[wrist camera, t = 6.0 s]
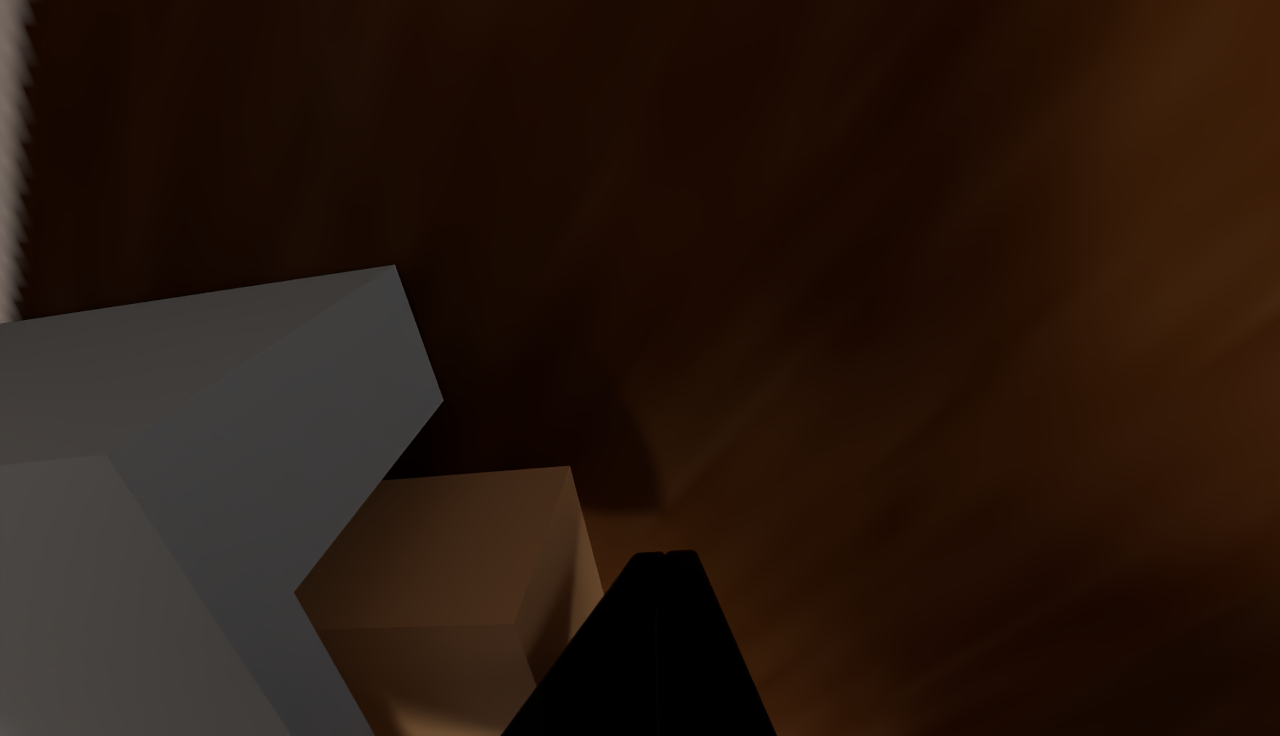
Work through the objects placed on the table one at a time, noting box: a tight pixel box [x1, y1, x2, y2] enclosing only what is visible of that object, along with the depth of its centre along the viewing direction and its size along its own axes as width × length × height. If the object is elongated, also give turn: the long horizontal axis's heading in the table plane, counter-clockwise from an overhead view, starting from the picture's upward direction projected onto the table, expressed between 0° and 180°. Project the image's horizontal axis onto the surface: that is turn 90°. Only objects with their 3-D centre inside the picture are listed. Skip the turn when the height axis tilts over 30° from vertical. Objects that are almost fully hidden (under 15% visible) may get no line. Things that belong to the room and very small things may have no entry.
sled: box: [0, 265, 444, 736], centre depth 9 cm, size 9×7×4 cm
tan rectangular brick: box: [294, 466, 604, 736], centre depth 9 cm, size 3×6×3 cm, turn 100°
